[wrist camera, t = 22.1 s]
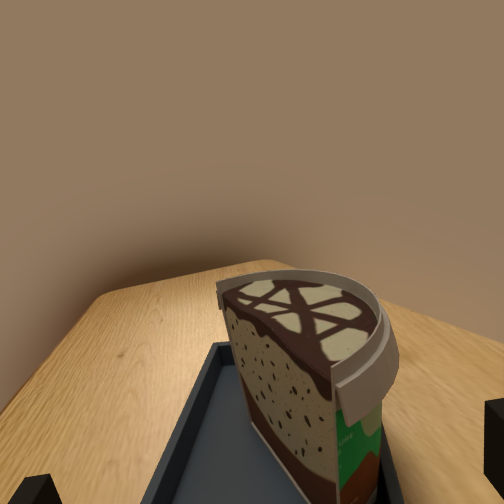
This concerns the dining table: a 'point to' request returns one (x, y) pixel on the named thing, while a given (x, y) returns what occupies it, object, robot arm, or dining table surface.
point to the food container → (313, 376)
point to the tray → (231, 449)
